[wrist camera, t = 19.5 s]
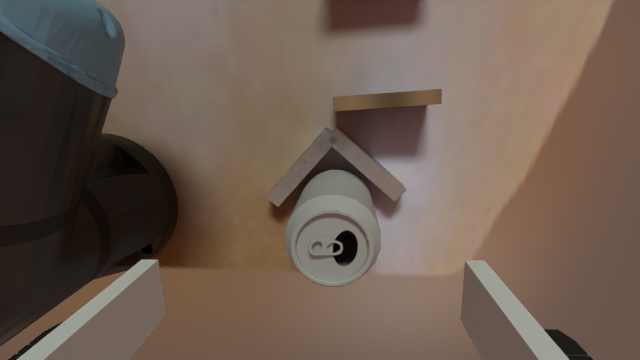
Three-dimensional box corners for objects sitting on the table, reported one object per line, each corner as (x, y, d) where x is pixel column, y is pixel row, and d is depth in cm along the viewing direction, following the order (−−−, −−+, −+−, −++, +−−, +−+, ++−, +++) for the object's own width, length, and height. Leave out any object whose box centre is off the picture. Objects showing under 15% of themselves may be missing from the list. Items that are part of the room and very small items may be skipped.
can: (365, 240, 37) (374, 303, 26) (297, 229, 38) (275, 287, 26) (377, 173, 36) (392, 209, 24) (305, 162, 36) (286, 193, 24)
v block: (272, 200, 37) (267, 207, 35) (264, 131, 35) (258, 133, 33) (402, 194, 36) (406, 201, 34) (401, 121, 34) (405, 123, 32)
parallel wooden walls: (335, 109, 34) (334, 111, 30) (327, -40, 31) (323, -65, 27) (427, 103, 34) (441, 103, 29) (427, -51, 31) (442, -79, 26)
